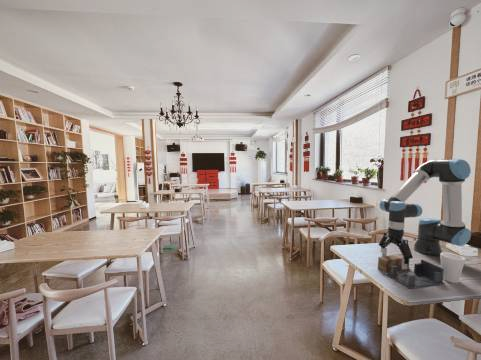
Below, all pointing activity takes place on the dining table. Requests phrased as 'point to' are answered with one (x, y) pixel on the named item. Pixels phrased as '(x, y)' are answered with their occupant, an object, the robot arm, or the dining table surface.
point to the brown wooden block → (390, 262)
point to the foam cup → (452, 266)
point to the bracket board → (419, 275)
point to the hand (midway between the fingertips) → (393, 263)
